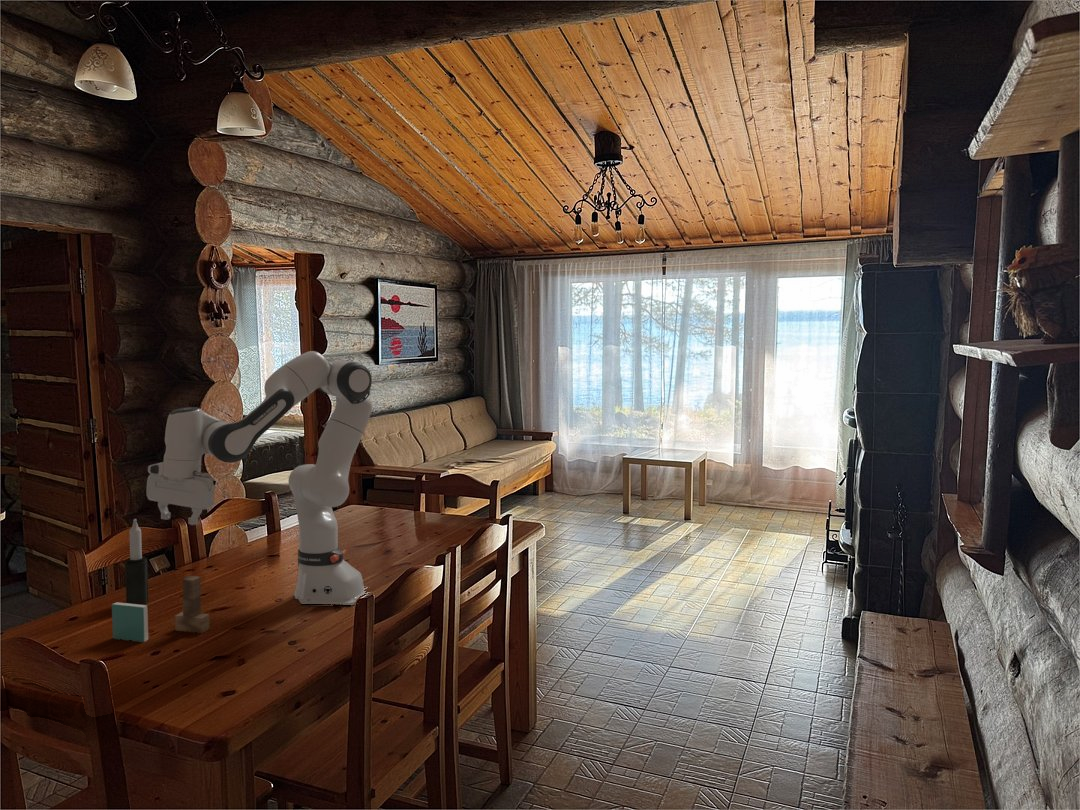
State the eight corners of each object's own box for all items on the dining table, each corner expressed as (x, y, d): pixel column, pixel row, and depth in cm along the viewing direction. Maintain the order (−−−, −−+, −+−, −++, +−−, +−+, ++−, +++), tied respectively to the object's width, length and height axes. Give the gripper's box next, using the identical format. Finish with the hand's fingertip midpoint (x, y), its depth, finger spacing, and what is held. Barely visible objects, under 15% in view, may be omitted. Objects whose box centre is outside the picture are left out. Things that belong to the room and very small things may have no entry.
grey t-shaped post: (209, 628, 189) (208, 577, 188) (202, 633, 186) (201, 581, 185) (183, 625, 190) (181, 574, 189) (175, 630, 188) (173, 578, 186)
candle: (129, 601, 207) (126, 517, 204) (148, 600, 208) (146, 516, 206) (125, 608, 202) (122, 521, 200) (146, 606, 204) (143, 520, 201)
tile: (148, 639, 181) (147, 605, 181) (143, 642, 180) (142, 607, 179) (117, 636, 183) (116, 602, 182) (112, 638, 182) (111, 604, 181)
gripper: (222, 472, 185) (219, 525, 186) (163, 463, 192) (160, 514, 193) (203, 475, 179) (199, 529, 180) (143, 465, 186) (140, 518, 187)
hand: (179, 521), depth 186 cm, fingers open, 8 cm apart
